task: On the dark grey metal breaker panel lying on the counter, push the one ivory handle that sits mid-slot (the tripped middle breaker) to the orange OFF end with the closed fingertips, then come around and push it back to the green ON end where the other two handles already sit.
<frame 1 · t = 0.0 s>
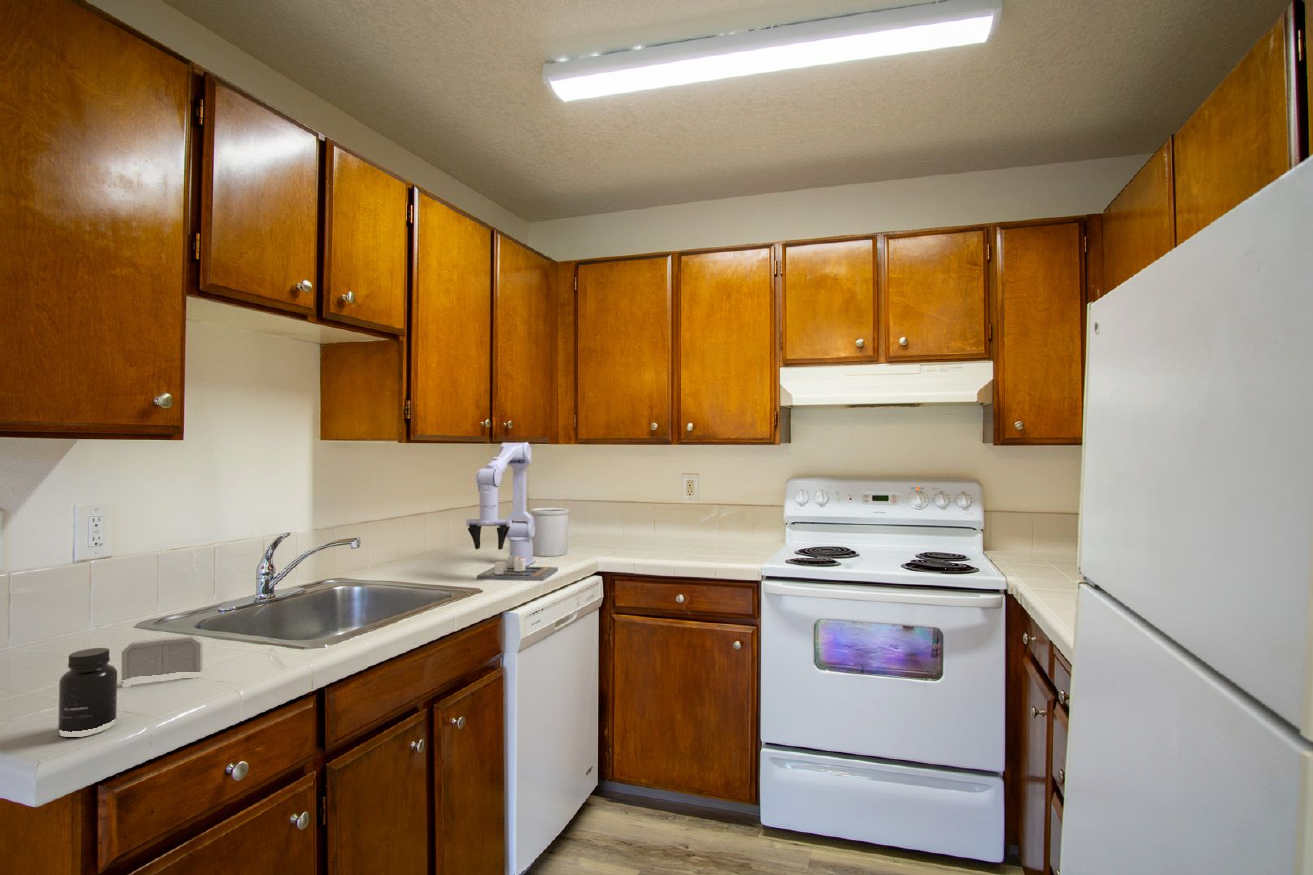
hand: (489, 548, 209), 10 cm above the countertop, fingers open, 7 cm apart
supplement bottle: (88, 730, 102), on the countertop
breaker panel: (518, 574, 218), on the countertop
light switch: (163, 682, 123), on the countertop
tripped breaker: (519, 564, 218), point 3 cm above the countertop, slide at 0.5 cm
utensil holder: (550, 554, 259), on the countertop
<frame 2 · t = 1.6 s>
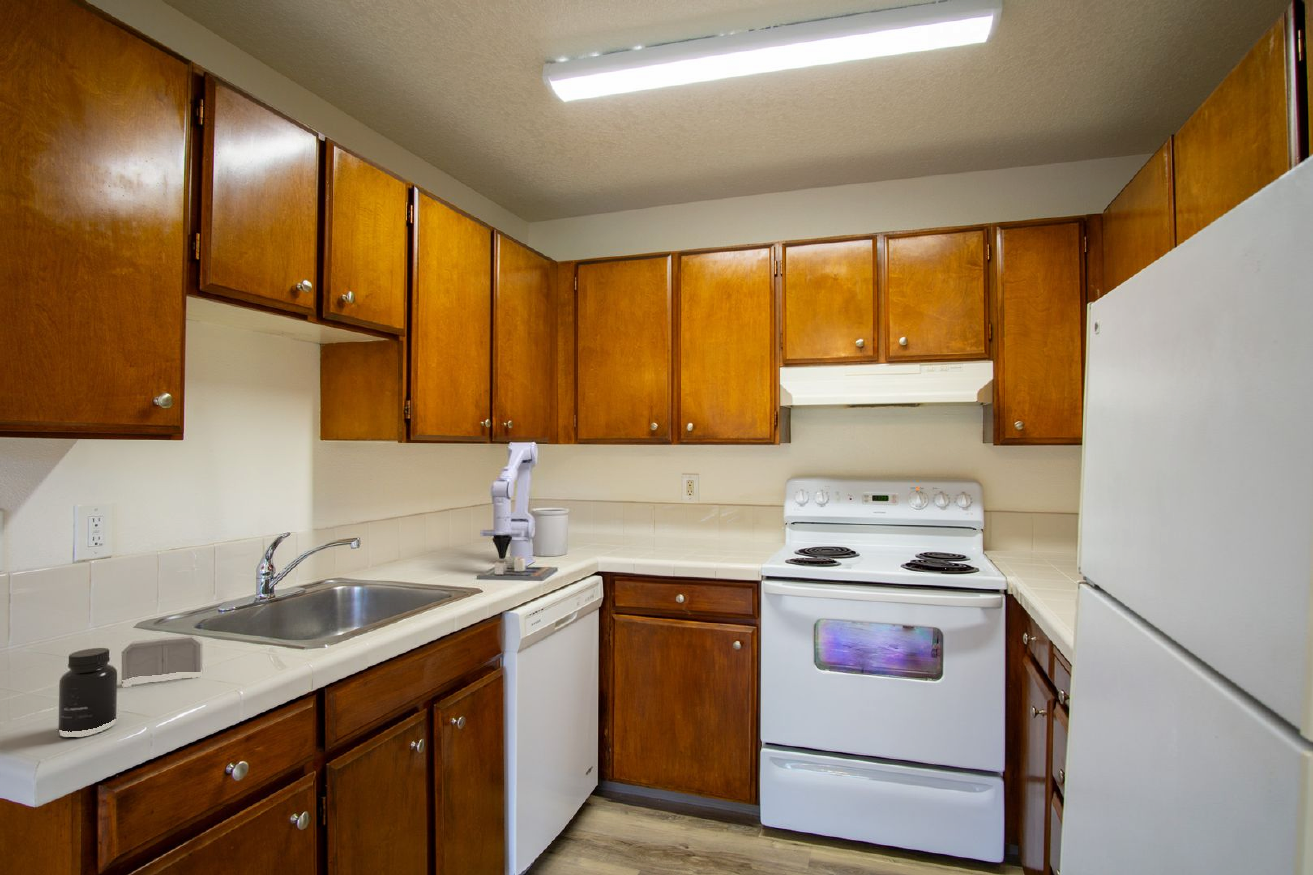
hand: (502, 558, 219), 5 cm above the countertop, fingers closed
nothing on the countertop moved.
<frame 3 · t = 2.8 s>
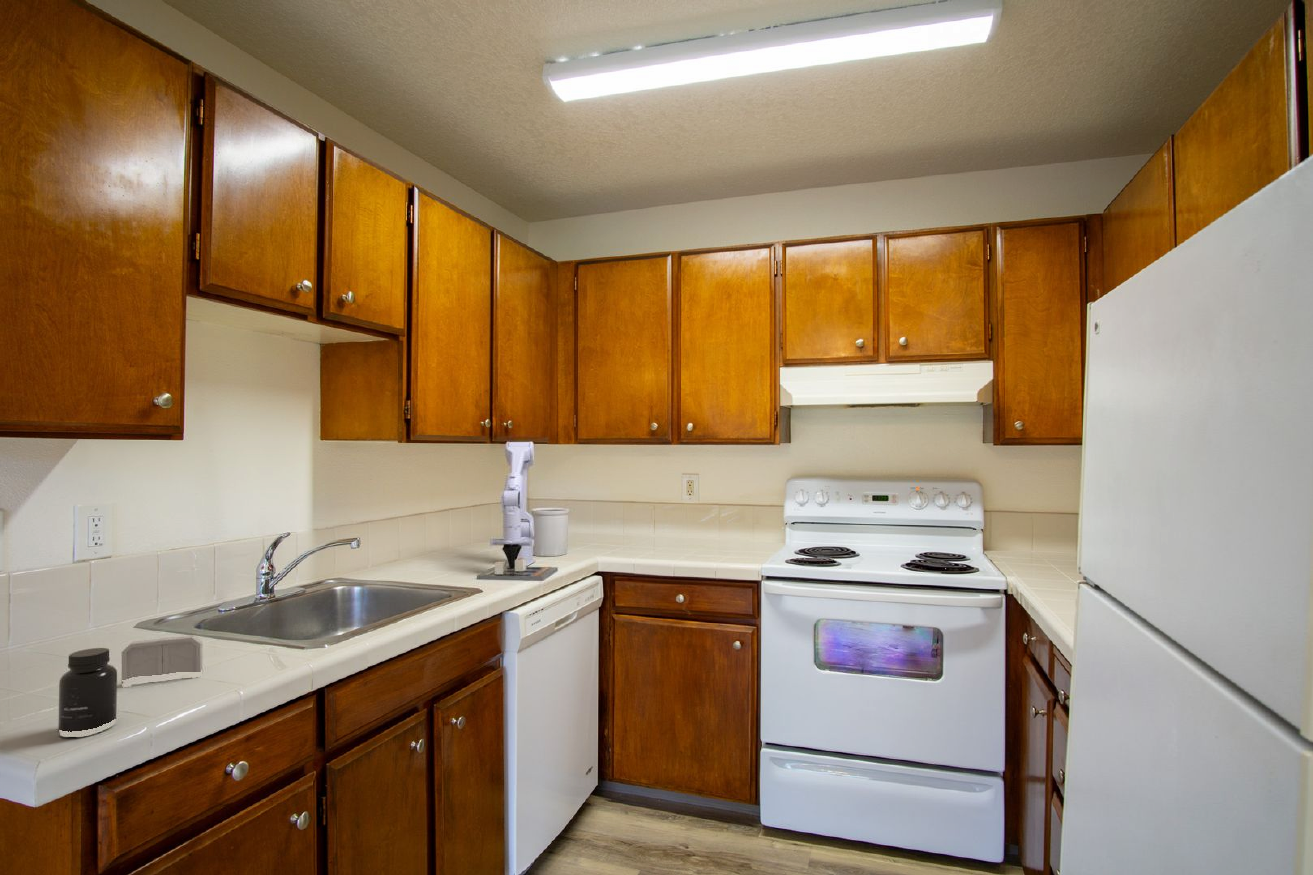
hand: (512, 567, 218), 2 cm above the countertop, fingers closed
tripped breaker: (520, 564, 218), point 3 cm above the countertop, slide at 0.7 cm, touching gripper
everything else where it was.
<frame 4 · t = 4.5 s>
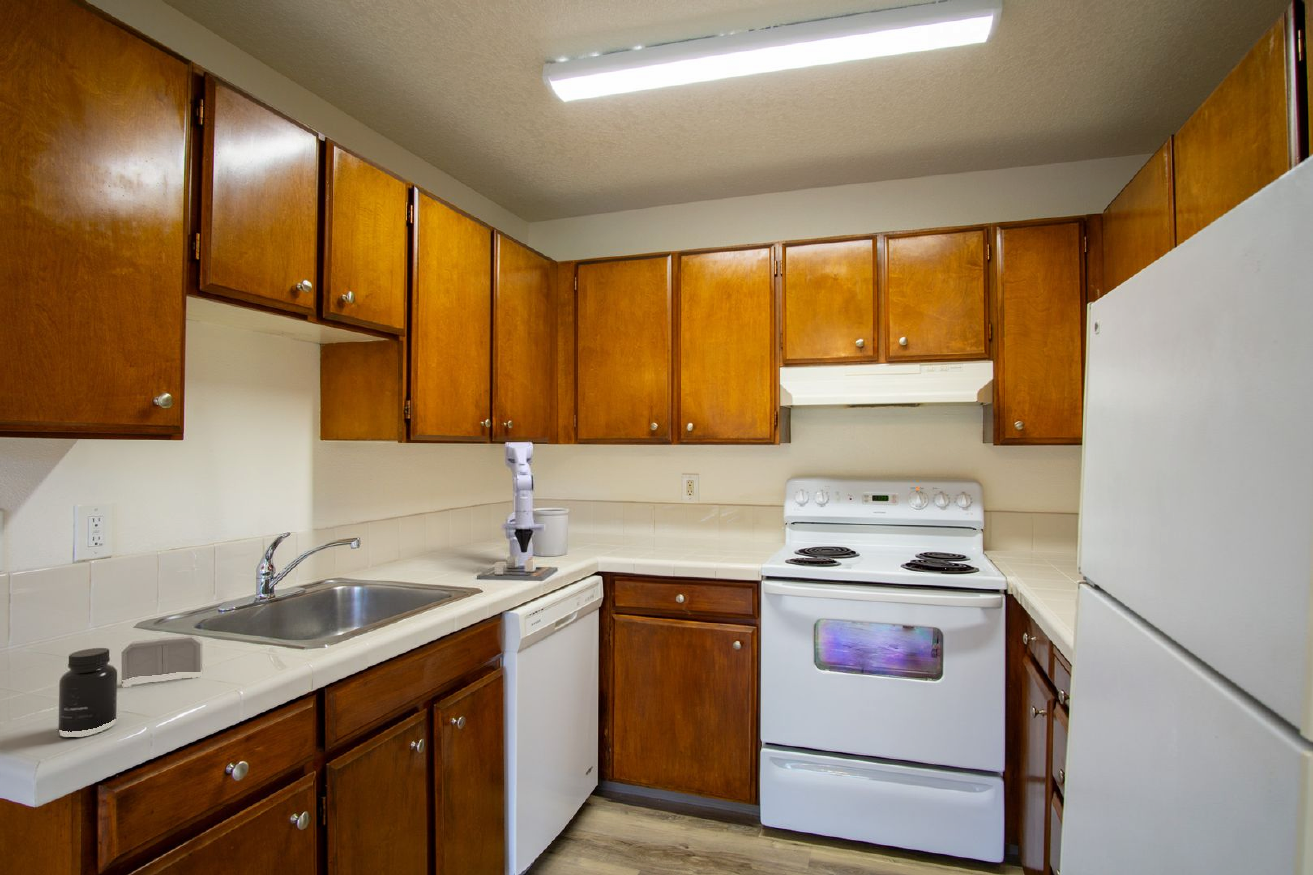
hand: (524, 552, 218), 8 cm above the countertop, fingers closed
tripped breaker: (530, 564, 218), point 3 cm above the countertop, slide at 4.0 cm
everything else where it was.
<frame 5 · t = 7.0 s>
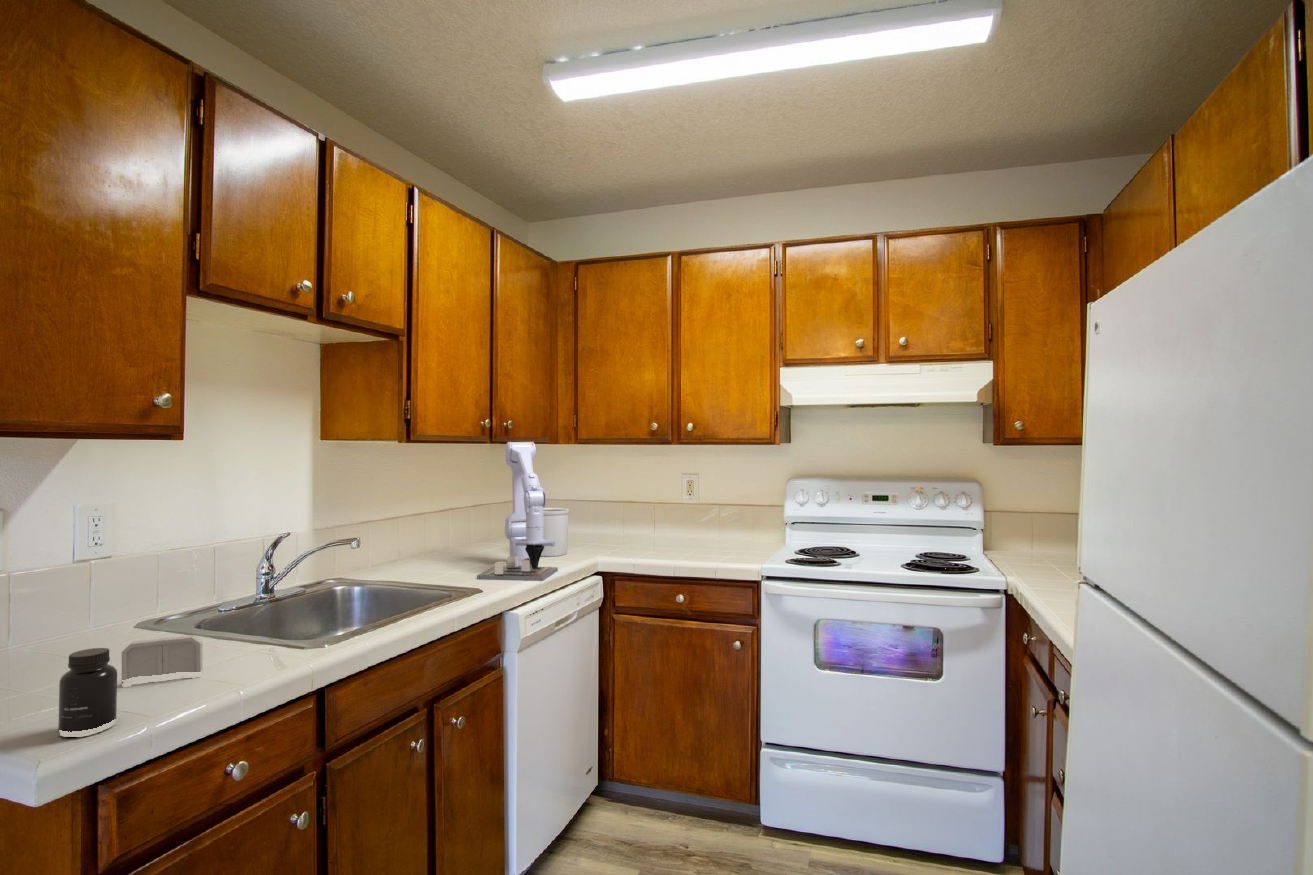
hand: (535, 567, 217), 2 cm above the countertop, fingers closed
tripped breaker: (526, 564, 218), point 3 cm above the countertop, slide at 2.9 cm, touching gripper
everything else where it was.
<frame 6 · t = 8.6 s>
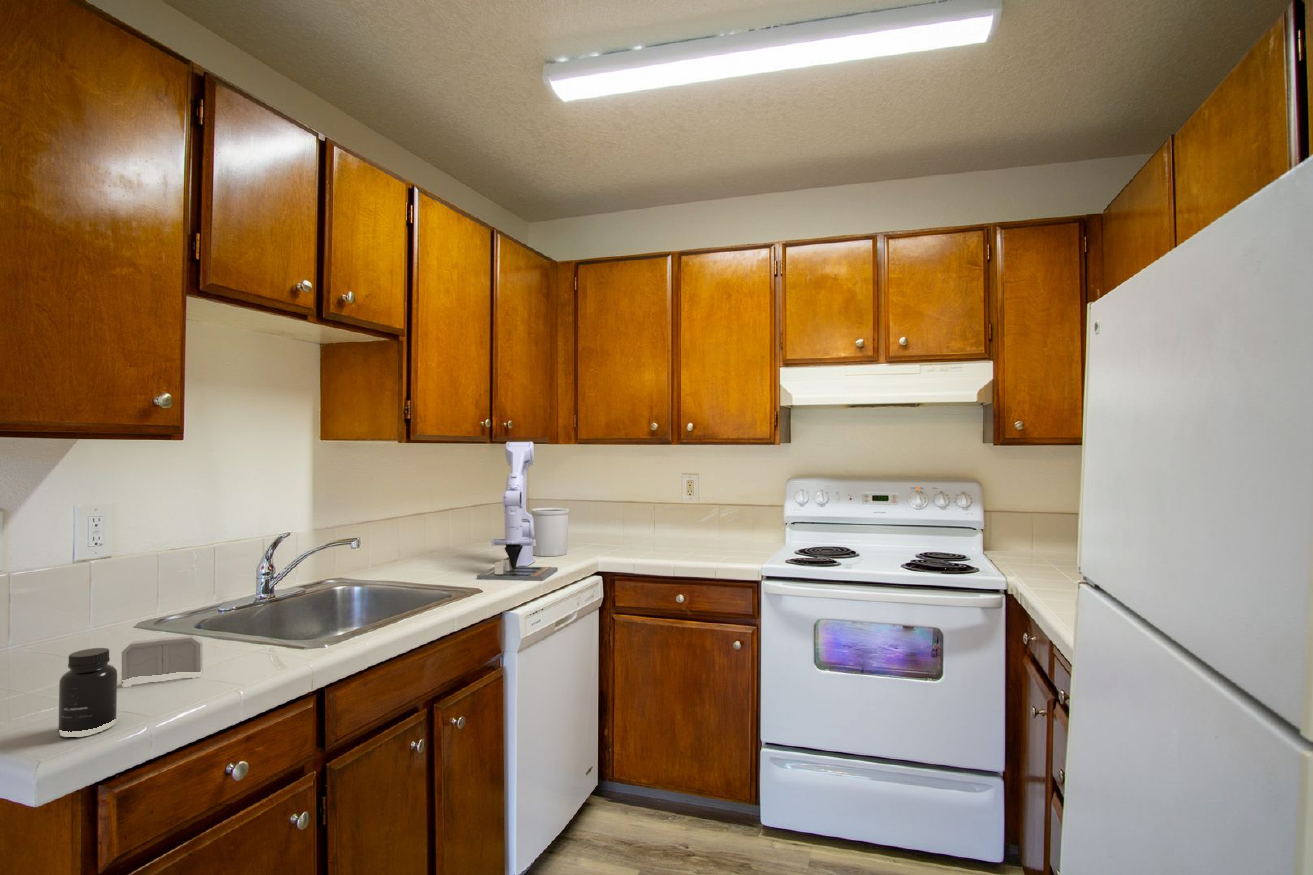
hand: (513, 567, 218), 2 cm above the countertop, fingers closed
tripped breaker: (506, 564, 219), point 3 cm above the countertop, slide at -4.1 cm, touching gripper
everything else where it was.
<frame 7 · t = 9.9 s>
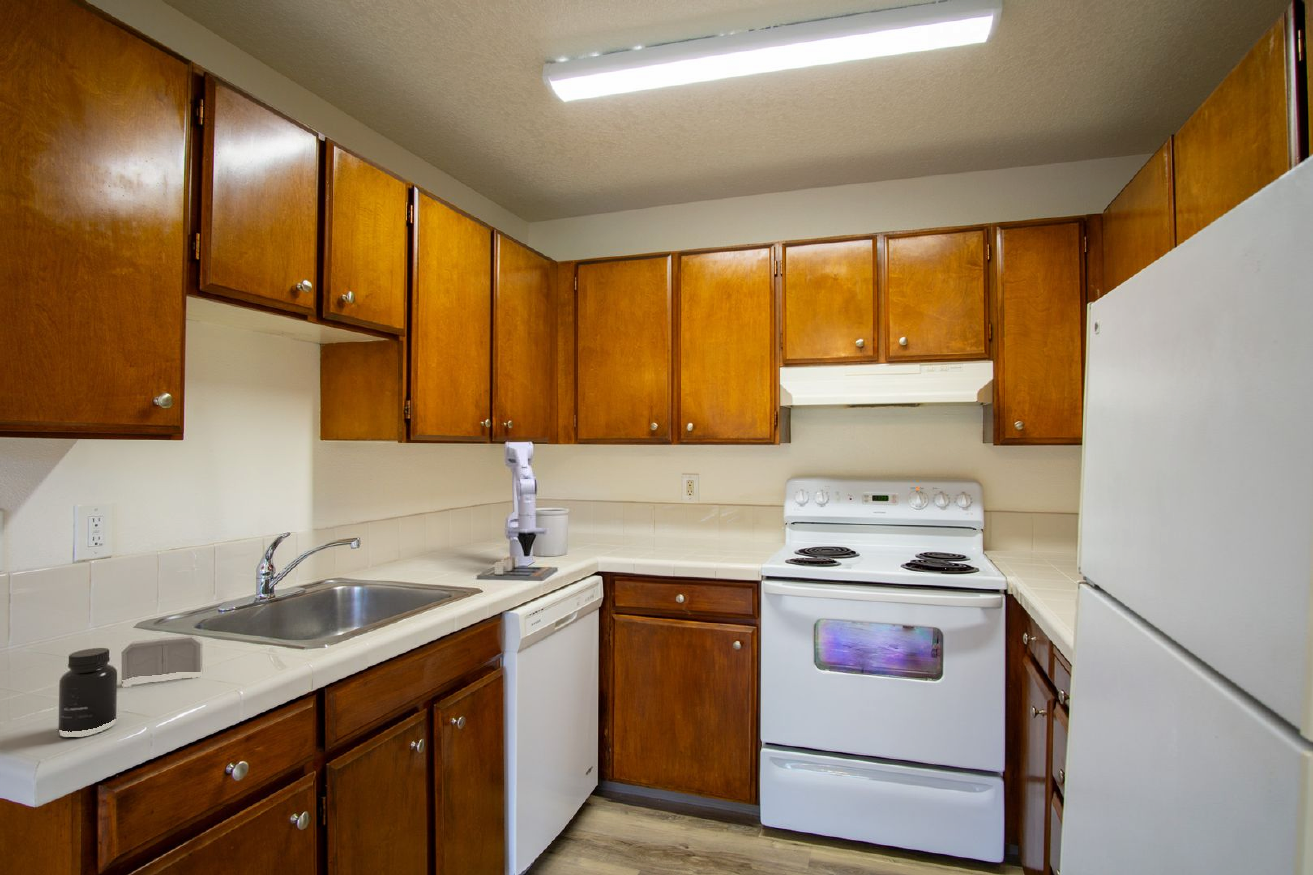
hand: (527, 555, 218), 6 cm above the countertop, fingers closed
tripped breaker: (506, 564, 219), point 3 cm above the countertop, slide at -4.0 cm
everything else where it was.
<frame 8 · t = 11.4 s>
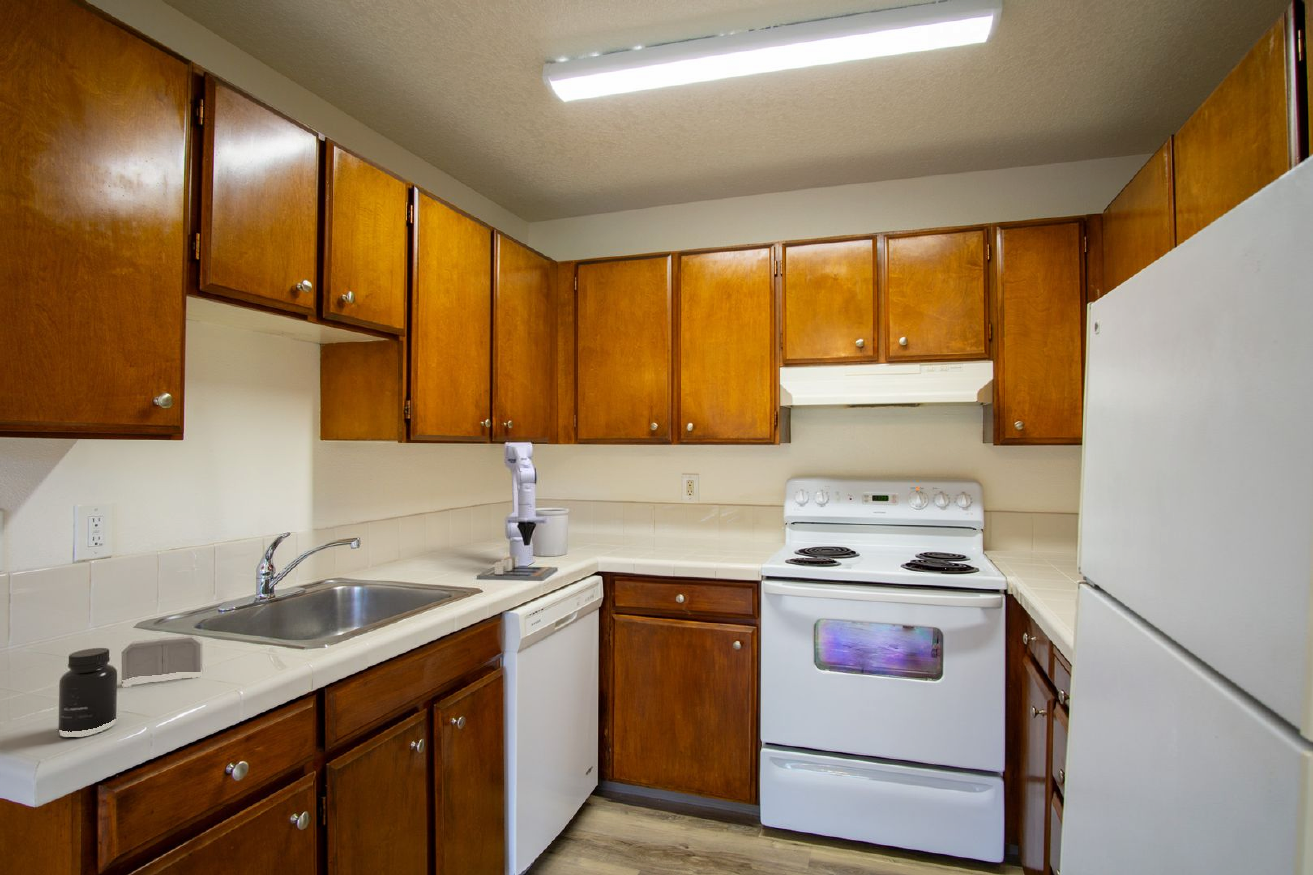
hand: (527, 545, 218), 10 cm above the countertop, fingers closed
nothing on the countertop moved.
at the end: tripped breaker slide at -4.0 cm; the gripper is holding nothing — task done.
